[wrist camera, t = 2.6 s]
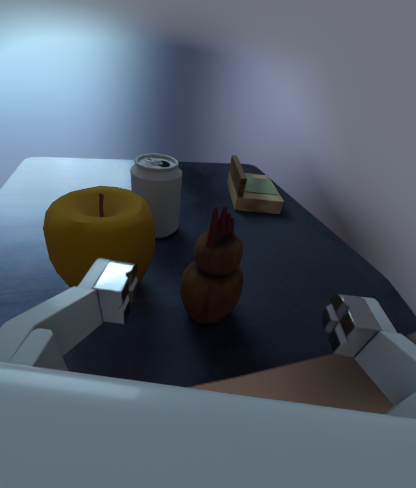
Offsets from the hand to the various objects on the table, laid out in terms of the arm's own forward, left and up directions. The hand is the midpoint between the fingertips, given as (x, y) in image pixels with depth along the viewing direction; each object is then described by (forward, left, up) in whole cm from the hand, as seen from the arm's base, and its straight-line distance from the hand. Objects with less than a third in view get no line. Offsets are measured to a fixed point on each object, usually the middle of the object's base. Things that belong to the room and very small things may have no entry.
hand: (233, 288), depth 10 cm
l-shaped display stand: (-14, -45, -17) cm, 50 cm away
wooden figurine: (-2, -12, -17) cm, 21 cm away
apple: (+10, -15, -17) cm, 25 cm away
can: (+6, -29, -17) cm, 34 cm away
